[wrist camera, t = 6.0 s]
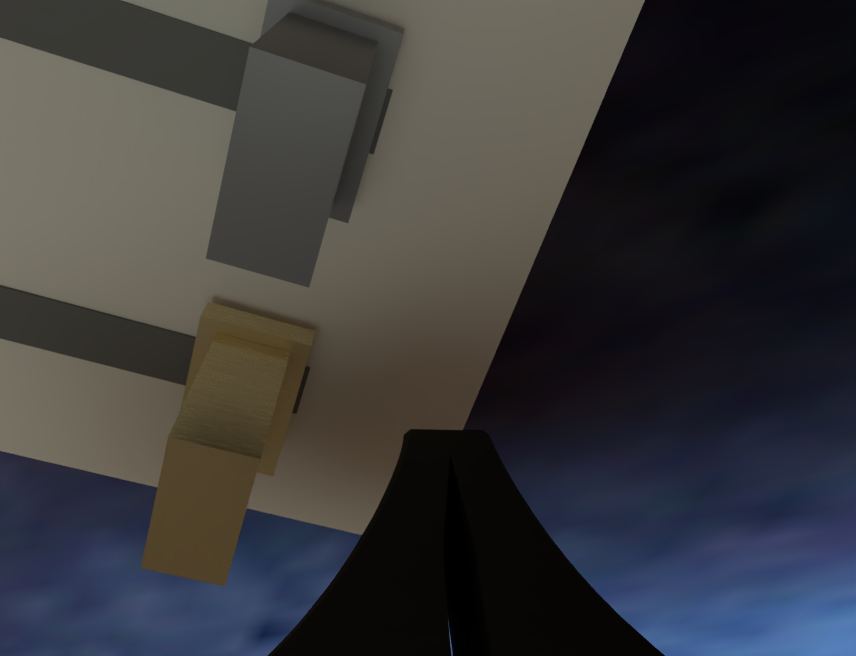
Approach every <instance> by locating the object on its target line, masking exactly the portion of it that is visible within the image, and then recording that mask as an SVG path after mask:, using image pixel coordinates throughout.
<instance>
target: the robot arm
mask: <svg viewBox="0 0 856 656" xmlns="http://www.w3.org/2000/svg"><path fill="white" fill-rule="evenodd" d="M448 621H449V626H448ZM449 628H450V636H451V644H452V651H453V656H665V655H664V654H662V653H661V652H660V651H659V650H658V649H656V648H655V647H654V646H653V645H652V644H651V643H650V642H649V641H647V640H646V639H645V638H644V637H643V636H642V635H641V634H640V633H638V632H637V631H636V630H635V629H634V628H633V627H632V626H631V625H630V624H628V623H627V622H626V621H625V620H624V619H623V618H622V617H621V616H620V615H618V613H617V612H616V611H615V610H614V609H613V608H612V607H611V606H610V605H609V604H608V603H607V602H606V601H605V600H604V599H603V598H602V597H601V596H600V595H599V594H598V593H597V592H596V591H595V590H594V589H593V588H592V587H591V585H590V584H589V583H588V582H587V581H586V580H585V579H584V578H583V577H582V576H581V574H580V573H579V572H578V571H577V570H576V569H575V567H574V566H573V565H572V564H571V563H570V561H569V560H568V559H567V558H566V557H565V555H564V554H563V553H562V552H561V550H560V549H559V548H558V546H557V545H556V544H555V542H554V541H553V540H552V539H551V537H550V536H549V535H548V533H547V532H546V531H545V529H544V528H543V526H542V525H541V524H540V522H539V521H538V519H537V518H536V516H535V515H534V513H533V512H532V510H531V509H530V507H529V506H528V504H527V503H526V501H525V500H524V498H523V497H522V495H521V494H520V492H519V491H518V489H517V487H516V486H515V484H514V482H513V481H512V479H511V477H510V476H509V474H508V472H507V470H506V469H505V467H504V465H503V463H502V461H501V459H500V457H499V455H498V454H497V452H496V449H495V447H494V445H493V443H492V441H491V438H490V436H489V435H488V434H487V433H486V432H485V431H484V430H435V429H410V430H409V431H408V432H406V433H405V434H404V437H403V444H402V448H401V452H400V455H399V459H398V461H397V464H396V467H395V470H394V472H393V475H392V477H391V480H390V482H389V484H388V486H387V488H386V491H385V493H384V495H383V497H382V499H381V501H380V503H379V505H378V508H377V509H376V511H375V513H374V515H373V517H372V519H371V520H370V522H369V524H368V526H367V527H366V529H365V531H364V533H363V534H362V536H361V538H360V540H359V541H358V543H357V545H356V546H355V548H354V550H353V551H352V553H351V554H350V556H349V557H348V559H347V560H346V562H345V563H344V565H343V566H342V568H341V569H340V571H339V572H338V574H337V575H336V576H335V578H334V579H333V581H332V582H331V583H330V585H329V586H328V587H327V589H326V590H325V591H324V593H323V594H322V595H321V596H320V598H319V599H318V600H317V601H316V603H315V604H314V605H313V606H312V608H311V609H310V610H309V611H308V613H307V614H306V615H305V616H304V617H303V619H302V620H301V621H300V622H299V623H298V624H297V626H296V627H295V628H294V629H293V630H292V631H291V632H290V633H289V634H288V635H287V636H286V637H285V639H284V640H283V641H282V642H281V643H280V644H279V645H278V646H277V647H276V648H275V649H274V650H273V651H272V652H271V653H270V654H269V655H268V656H451V648H450V637H449Z"/></svg>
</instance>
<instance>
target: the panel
mask: <svg viewBox="0 0 856 656" xmlns="http://www.w3.org/2000/svg"><path fill="white" fill-rule="evenodd" d="M323 1H325V2H328V3H331V4H334V5H337V6H340V7H343V8H346V9H349V10H352V11H355V12H358V13H361V14H363V15H366V16H369V17H372V18H375V19H378V20H381V21H384V22H387V23H390V24H393V25H396V26H398V27H401V28H404V35H403V39H402V42H401V46H400V49H399V52H398V56H397V59H396V63H395V66H394V69H393V73H392V76H391V80H390V83H389V86H388V90H387V93H386V97H385V100H384V103H383V107H382V110H381V114H380V117H379V120H378V124H377V127H376V131H375V134H374V137H373V141H372V144H371V148H370V151H369V154H368V158H367V161H366V165H365V168H364V171H363V175H362V178H361V182H360V185H359V188H358V192H357V195H356V199H355V202H354V205H353V209H352V212H351V216H350V219H349V222H348V223H345V222H342V221H338V220H335V219H332V218H329V219H328V222H327V226H326V229H325V233H324V236H323V240H322V244H321V247H320V251H319V254H318V258H317V261H316V265H315V269H314V272H313V276H312V279H311V283H310V286H309V287H305V286H301V285H298V284H294V283H291V282H287V281H284V280H280V279H277V278H273V277H269V276H266V275H262V274H259V273H255V272H252V271H248V270H245V269H241V268H238V267H234V266H230V265H227V264H223V263H220V262H216V261H213V260H209V259H206V255H207V250H208V245H209V240H210V235H211V230H212V226H213V221H214V216H215V211H216V206H217V202H218V197H219V192H220V187H221V182H222V178H223V173H224V168H225V163H226V158H227V153H228V149H229V144H230V139H231V134H232V129H233V125H234V120H235V115H236V110H237V105H238V101H239V96H240V91H241V86H242V81H243V77H244V72H245V67H246V62H247V57H248V52H249V48H250V46H251V45H252V44H253V43H254V42H255V41H257V40H258V39H259V38H260V36H261V31H262V26H263V22H264V17H265V12H266V7H267V3H268V0H0V451H3V452H8V453H12V454H16V455H20V456H25V457H29V458H33V459H38V460H42V461H46V462H50V463H55V464H59V465H63V466H68V467H72V468H76V469H81V470H85V471H89V472H93V473H98V474H102V475H106V476H111V477H115V478H119V479H123V480H128V481H132V482H136V483H141V484H145V485H149V486H154V487H158V483H159V478H160V473H161V469H162V464H163V459H164V454H165V449H166V444H167V440H168V436H169V434H170V432H171V429H172V427H173V425H174V423H175V421H176V419H177V417H178V414H179V412H180V410H181V405H182V400H183V396H184V391H185V386H186V382H187V377H188V372H189V368H190V363H191V358H192V353H193V349H194V344H195V339H196V335H197V330H198V325H199V320H200V316H201V314H202V312H203V310H204V308H205V306H206V304H207V302H211V303H214V304H218V305H222V306H225V307H229V308H233V309H236V310H240V311H243V312H247V313H251V314H254V315H258V316H262V317H265V318H269V319H273V320H276V321H280V322H284V323H287V324H291V325H295V326H298V327H302V328H306V329H309V330H313V331H315V334H314V338H313V343H312V347H311V350H310V353H309V357H308V360H307V364H306V367H305V370H304V374H303V377H302V381H301V384H300V387H299V391H298V394H297V398H296V401H295V404H294V408H293V411H292V415H291V418H290V421H289V425H288V428H287V432H286V435H285V438H284V442H283V445H282V449H281V452H280V455H279V459H278V462H277V466H276V469H275V472H274V476H269V475H265V474H261V473H256V477H255V480H254V484H253V487H252V491H251V495H250V498H249V502H248V505H247V508H248V509H252V510H257V511H261V512H265V513H269V514H274V515H278V516H282V517H287V518H291V519H295V520H299V521H304V522H308V523H312V524H317V525H321V526H325V527H330V528H334V529H338V530H342V531H347V532H351V533H355V534H360V535H362V534H363V533H364V531H365V529H366V527H367V526H368V524H369V522H370V520H371V519H372V517H373V515H374V513H375V511H376V509H377V508H378V505H379V503H380V501H381V499H382V497H383V495H384V493H385V491H386V488H387V486H388V484H389V482H390V480H391V477H392V475H393V472H394V470H395V467H396V464H397V461H398V459H399V455H400V452H401V448H402V444H403V437H404V434H405V433H406V432H408V431H409V430H410V429H435V430H463V428H464V426H465V423H466V421H467V419H468V416H469V414H470V412H471V409H472V407H473V404H474V402H475V400H476V397H477V395H478V393H479V390H480V388H481V386H482V383H483V381H484V378H485V376H486V374H487V371H488V369H489V367H490V364H491V362H492V360H493V357H494V355H495V353H496V350H497V348H498V345H499V343H500V341H501V338H502V336H503V334H504V331H505V329H506V327H507V324H508V322H509V319H510V317H511V315H512V312H513V310H514V308H515V305H516V303H517V301H518V298H519V296H520V294H521V291H522V289H523V286H524V284H525V282H526V279H527V277H528V275H529V272H530V270H531V268H532V265H533V263H534V260H535V258H536V256H537V253H538V251H539V249H540V246H541V244H542V242H543V239H544V237H545V234H546V232H547V230H548V227H549V225H550V223H551V220H552V218H553V216H554V213H555V211H556V209H557V206H558V204H559V201H560V199H561V197H562V194H563V192H564V190H565V187H566V185H567V183H568V180H569V178H570V175H571V173H572V171H573V168H574V166H575V164H576V161H577V159H578V157H579V154H580V152H581V149H582V147H583V145H584V142H585V140H586V138H587V135H588V133H589V131H590V128H591V126H592V124H593V121H594V119H595V116H596V114H597V112H598V109H599V107H600V105H601V102H602V100H603V98H604V95H605V93H606V90H607V88H608V86H609V83H610V81H611V79H612V76H613V74H614V72H615V69H616V67H617V64H618V62H619V60H620V57H621V55H622V53H623V50H624V48H625V46H626V43H627V41H628V39H629V36H630V34H631V31H632V29H633V27H634V24H635V22H636V20H637V17H638V15H639V13H640V10H641V8H642V5H643V3H644V1H645V0H323Z"/></svg>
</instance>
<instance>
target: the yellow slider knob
mask: <svg viewBox="0 0 856 656" xmlns="http://www.w3.org/2000/svg"><path fill="white" fill-rule="evenodd" d="M314 334H315V331H313V330H309V329H306V328H302V327H298V326H295V325H291V324H287V323H284V322H280V321H276V320H273V319H269V318H265V317H262V316H258V315H254V314H251V313H247V312H243V311H240V310H236V309H233V308H229V307H225V306H222V305H218V304H214V303H211V302H207V304H206V306H205V308H204V310H203V312H202V314H201V316H200V320H199V325H198V330H197V335H196V339H195V344H194V349H193V353H192V358H191V363H190V368H189V372H188V377H187V382H186V386H185V391H184V396H183V400H182V405H181V410H180V412H179V414H178V417H177V419H176V421H175V423H174V425H173V427H172V429H171V432H170V434H169V436H168V440H167V444H166V449H165V454H164V459H163V464H162V469H161V473H160V478H159V483H158V488H157V493H156V497H155V502H154V507H153V512H152V517H151V522H150V526H149V531H148V536H147V541H146V546H145V550H144V555H143V560H142V565H141V568H143V569H148V570H152V571H157V572H161V573H166V574H171V575H175V576H180V577H185V578H189V579H194V580H198V581H203V582H208V583H212V584H217V585H222V586H225V584H226V580H227V577H228V573H229V569H230V566H231V562H232V559H233V555H234V552H235V548H236V545H237V541H238V537H239V534H240V530H241V527H242V523H243V520H244V516H245V512H246V509H247V505H248V502H249V498H250V495H251V491H252V487H253V484H254V480H255V477H256V473H261V474H265V475H269V476H274V472H275V469H276V466H277V462H278V459H279V455H280V452H281V449H282V445H283V442H284V438H285V435H286V432H287V428H288V425H289V421H290V418H291V415H292V411H293V408H294V404H295V401H296V398H297V394H298V391H299V387H300V384H301V381H302V377H303V374H304V370H305V367H306V364H307V360H308V357H309V353H310V350H311V347H312V343H313V338H314Z"/></svg>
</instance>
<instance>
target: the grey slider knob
mask: <svg viewBox="0 0 856 656" xmlns="http://www.w3.org/2000/svg"><path fill="white" fill-rule="evenodd" d="M403 35H404V28H401V27H398V26H396V25H393V24H390V23H387V22H384V21H381V20H378V19H375V18H372V17H369V16H366V15H363V14H361V13H358V12H355V11H352V10H349V9H346V8H343V7H340V6H337V5H334V4H331V3H328V2H325V1H323V0H268V3H267V7H266V12H265V17H264V22H263V26H262V31H261V36H260V38H259V39H258V40H257V41H255V42H254V43H253V44H252V45H251V46H250V48H249V52H248V57H247V62H246V67H245V72H244V77H243V81H242V86H241V91H240V96H239V101H238V105H237V110H236V115H235V120H234V125H233V129H232V134H231V139H230V144H229V149H228V153H227V158H226V163H225V168H224V173H223V178H222V182H221V187H220V192H219V197H218V202H217V206H216V211H215V216H214V221H213V226H212V230H211V235H210V240H209V245H208V250H207V255H206V259H209V260H213V261H216V262H220V263H223V264H227V265H230V266H234V267H238V268H241V269H245V270H248V271H252V272H255V273H259V274H262V275H266V276H269V277H273V278H277V279H280V280H284V281H287V282H291V283H294V284H298V285H301V286H305V287H309V286H310V283H311V279H312V276H313V272H314V269H315V265H316V261H317V258H318V254H319V251H320V247H321V244H322V240H323V236H324V233H325V229H326V226H327V222H328V219H329V218H332V219H335V220H338V221H342V222H345V223H348V222H349V219H350V216H351V212H352V209H353V205H354V202H355V199H356V195H357V192H358V188H359V185H360V182H361V178H362V175H363V171H364V168H365V165H366V161H367V158H368V154H369V151H370V148H371V144H372V141H373V137H374V134H375V131H376V127H377V124H378V120H379V117H380V114H381V110H382V107H383V103H384V100H385V97H386V93H387V90H388V86H389V83H390V80H391V76H392V73H393V69H394V66H395V63H396V59H397V56H398V52H399V49H400V46H401V42H402V39H403Z"/></svg>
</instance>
